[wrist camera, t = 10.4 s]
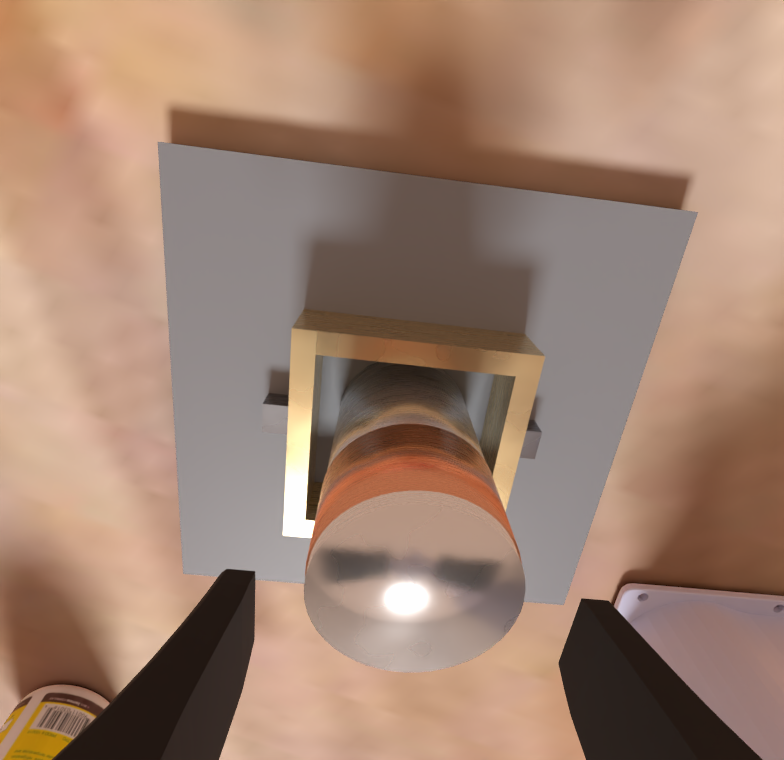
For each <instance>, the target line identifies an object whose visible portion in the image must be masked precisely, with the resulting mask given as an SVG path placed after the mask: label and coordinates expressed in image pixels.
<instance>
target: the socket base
mask: <svg viewBox="0 0 784 760" xmlns="http://www.w3.org/2000/svg"><path fill="white" fill-rule="evenodd" d="M158 154H159V171H160V188H161V205H162V222H163V239H164V256H165V273H166V290H167V307H168V324H169V341H170V358H171V375H172V392H173V409H174V425H175V442H176V459H177V476H178V493H179V510H180V527H181V544H182V561H183V574H192V575H204V576H216V577H219V575H220V574H221V572H223V571H224V570H226V569H236V570H248V571H255V580H265V581H277V582H289V583H301V584H304V583H305V568H306V560H307V556H308V551H309V546H310V541H311V538H308V537H297V536H285V535H283V523H284V499H285V475H286V451H287V435H285V434H275V433H265V432H262V411H263V402H264V400H265V399H266V397H267V395H268V393H275V394H285V395H289V379H290V355H291V331H292V327H293V325H294V324H295V322H296V321H297V319H298V318H299V316H300V314H301V313H302V311H303V310H304V309H311V310H319V311H328V312H337V313H346V314H355V315H363V316H372V317H381V318H390V319H399V320H408V321H416V322H425V323H434V324H443V325H452V326H460V327H469V328H478V329H487V330H496V331H504V332H513V333H522V334H525V335H526V336H527V337H528V338H529V339H530V340H531V341H532V342H533V343H534V344H535V346H536V347H537V348H538V349H539V350H540V351H541V352H542V353H543V354H544V356H545V359H544V363H543V367H542V371H541V375H540V379H539V383H538V387H537V391H536V395H535V399H534V403H533V407H532V410H531V414H530V418H529V420H535V422H536V423H537V425H538V427H539V428H540V430H541V431H542V434H541V438H540V442H539V446H538V449H537V453H536V457H535V459H527V458H519V461H518V465H517V469H516V473H515V477H514V481H513V485H512V489H511V493H510V497H509V501H508V504H507V508H506V515H507V518H508V521H509V524H510V526H511V529H512V532H513V535H514V538H515V540H516V543H517V546H518V549H519V551H520V556H521V561H522V567H523V570H524V575H525V588H526V591H525V597H524V602H533V603H545V604H557V605H564V603H565V600H566V597H567V594H568V591H569V588H570V585H571V582H572V579H573V576H574V574H575V571H576V568H577V565H578V562H579V559H580V556H581V553H582V550H583V547H584V544H585V541H586V538H587V535H588V533H589V530H590V527H591V524H592V521H593V518H594V515H595V512H596V509H597V506H598V503H599V500H600V497H601V495H602V492H603V489H604V486H605V483H606V480H607V477H608V474H609V471H610V468H611V465H612V462H613V459H614V456H615V454H616V451H617V448H618V445H619V442H620V439H621V436H622V433H623V430H624V427H625V424H626V421H627V418H628V416H629V413H630V410H631V407H632V404H633V401H634V398H635V395H636V392H637V389H638V386H639V383H640V380H641V377H642V375H643V372H644V369H645V366H646V363H647V360H648V357H649V354H650V351H651V348H652V345H653V342H654V339H655V337H656V334H657V331H658V328H659V325H660V322H661V319H662V316H663V313H664V310H665V307H666V304H667V301H668V298H669V296H670V293H671V290H672V287H673V284H674V281H675V278H676V275H677V272H678V269H679V266H680V263H681V260H682V258H683V255H684V252H685V249H686V246H687V243H688V240H689V237H690V234H691V231H692V228H693V225H694V222H695V219H696V217H697V214H698V212H693V211H685V210H677V209H670V208H662V207H654V206H647V205H639V204H631V203H624V202H616V201H608V200H601V199H593V198H585V197H578V196H570V195H562V194H555V193H547V192H539V191H532V190H524V189H516V188H509V187H501V186H493V185H486V184H478V183H470V182H463V181H455V180H447V179H440V178H432V177H424V176H417V175H409V174H401V173H394V172H386V171H378V170H371V169H363V168H355V167H348V166H340V165H332V164H325V163H317V162H309V161H302V160H294V159H286V158H279V157H271V156H263V155H256V154H248V153H240V152H233V151H225V150H217V149H210V148H202V147H194V146H187V145H179V144H171V143H164V142H158ZM377 362H378V361H368V360H359V359H350V358H341V357H332V356H323V364H322V379H321V393H320V408H319V422H318V437H317V451H316V466H315V480H314V482H323V481H324V477H325V475H326V473H327V468H328V464H329V459H330V454H331V449H332V444H333V439H334V434H335V429H336V424H337V419H338V415H339V410H340V405H341V401H342V397H343V395H344V393H345V390H346V389H347V387H348V385H349V384H350V382H351V381H352V380H353V379H354V378H355V377H356V376H357V375H358V374H359V373H360V372H361V371H363V370H364V369H365V368H367V367H368V366H370V365H372V364H374V363H377ZM441 369H442V368H441ZM442 370H444V371H445V372H446V373H447V374H448V375H449V376H450V377H451V378H452V379H453V380H454V382H455V383H456V384H457V386H458V388H459V389H460V391H461V394H462V397H463V399H464V402H465V405H466V408H467V411H468V413H469V416H470V419H471V422H472V425H473V428H474V430H475V433H476V436H477V439H478V442H479V444H480V439H481V435H482V430H483V425H484V421H485V416H486V412H487V407H488V402H489V398H490V393H491V388H492V384H493V379H494V375H495V374H488V373H479V372H470V371H461V370H451V369H442Z"/></svg>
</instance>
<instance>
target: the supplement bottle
mask: <svg viewBox="0 0 784 760" xmlns="http://www.w3.org/2000/svg"><path fill="white" fill-rule="evenodd" d="M109 704H110V703H109V702H108V701H107V700H106V699H105V698H103V697H102V696H100V695H99V694H97V693H95V692H93V691H91V690H88V689H86V688H82V687H78V686H73V685H50V686H46V687H42V688H39V689H37V690H35V691H33V692H31V693H30V694H28V695H27V696H25V697H24V698H23V699H22V700H21V701H20V702H19V704H18V705H17V706H16V708H15V709H14V711H13V712H12V713H11V715H10V716H9V718H8V719H7V720H6V722H5V723H4V725H3V726H2V728H1V729H0V760H52V759H53V758H54V757H55V756H56V755H57V754H58V753H59V752H60V751H61V750H62V749H63V748H64V747H66V746H67V745H68V744H69V743H70V742H71V741H72V740H73V739H74V738H75V737H76V736H77V735H78V734H79V733H80V732H81V731H82V730H83V729H85V728H86V727H87V726H88V725H89V724H90V723H91V722H92V721H93V720H94V719H95V718H96V717H97V716H98V715H99V714H100V713H101V712H102V711H103V710H104V709H105V708H106V707H107V706H108V705H109Z"/></svg>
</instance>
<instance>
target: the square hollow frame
mask: <svg viewBox="0 0 784 760" xmlns="http://www.w3.org/2000/svg"><path fill="white" fill-rule="evenodd" d="M323 356H332V357H341V358H350V359H359V360H368V361H378V362H387V363H396V364H405V365H415V366H424V367H433V368H442V369H451V370H461V371H470V372H479V373H488V374H495V375H494V379H493V384H492V388H491V393H490V398H489V402H488V407H487V412H486V416H485V421H484V425H483V430H482V435H481V439H480V444H479V445H480V448H481V450H482V453H483V456H484V459H485V461H486V463H487V465H488V467H489V469H490V471H491V474H492V476H493V479H494V482H495V485H496V487H497V490H498V493H499V496H500V499H501V501H502V504H503V507H504V510H505V512H506V508H507V504H508V501H509V497H510V493H511V489H512V485H513V481H514V477H515V473H516V469H517V465H518V461H519V458H527V459H535V457H536V453H537V449H538V446H539V442H540V438H541V434H542V431H541V430H540V428H539V427H538V425H537V423H536V422H535V420H529V418H530V414H531V410H532V407H533V403H534V399H535V395H536V391H537V387H538V383H539V379H540V375H541V371H542V367H543V363H544V359H545V356H544V354H543V353H542V352H541V351H540V350H539V349H538V348H537V347H536V346H535V344H534V343H533V342H532V341H531V340H530V339H529V338H528V337H527V336H526V335H525V334H522V333H513V332H504V331H496V330H487V329H478V328H469V327H460V326H452V325H443V324H434V323H425V322H416V321H408V320H399V319H390V318H381V317H372V316H363V315H355V314H346V313H337V312H328V311H319V310H311V309H304V310H303V311H302V313H301V314H300V316H299V318H298V319H297V321H296V322H295V324H294V325H293V327H292V331H291V355H290V379H289V395H285V394H275V393H268V395H267V397H266V399H265V400H264V402H263V411H262V432H265V433H275V434H285V435H287V451H286V475H285V499H284V523H283V535H285V536H297V537H308V538H311V537H312V532H313V527H314V522H315V518H316V513H317V508H318V503H319V499H320V494H321V489H322V485H323V482H314V480H315V466H316V451H317V437H318V422H319V408H320V393H321V379H322V364H323Z"/></svg>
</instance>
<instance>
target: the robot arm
mask: <svg viewBox="0 0 784 760" xmlns="http://www.w3.org/2000/svg"><path fill="white" fill-rule="evenodd" d="M642 593H643V594H642ZM640 594H641V595H640ZM254 626H255V571H248V570H236V569H226V570H224V571H223V572H221V574H220V575H219V577H218V578H217V579H216V581H215V582H214V584H213V585H212V586H211V588H210V589H209V590H208V592H207V593H206V594H205V595H204V597H203V598H202V599H201V601H200V602H199V603H198V604H197V606H196V607H195V608H194V609H193V611H192V612H191V613H190V614H189V616H188V617H187V618H186V619H185V621H184V622H183V623H182V624H181V625H180V627H179V628H178V629H177V630H176V631H175V632H174V634H173V635H172V636H171V637H170V638H169V639H168V641H167V642H166V643H165V644H164V645H163V646H162V647H161V649H160V650H159V651H158V652H157V653H156V654H155V656H154V657H153V658H152V659H151V660H150V661H149V662H148V663H147V665H146V666H145V667H144V668H143V669H142V670H141V671H140V672H139V673H138V674H137V675H136V676H135V677H134V678H133V679H132V680H131V682H130V683H129V684H128V685H127V686H126V687H125V688H124V689H123V690H122V691H121V692H120V693H119V694H118V695H117V696H116V697H115V699H114V700H113V701H112V702H111V703H110V704H109V705H108V706H107V707H106V708H105V709H104V710H103V711H102V712H101V713H100V714H99V715H98V716H97V717H96V718H95V719H94V720H93V721H92V722H91V723H90V724H89V725H88V726H87V727H86V728H85V729H83V730H82V731H81V732H80V733H79V734H78V735H77V736H76V737H75V738H74V739H73V740H72V741H71V742H70V743H69V744H68V745H67V746H66V747H64V748H63V749H62V750H61V751H60V752H59V753H58V754H57V755H56V756H55V757H54V758H53V759H52V760H219V757H220V755H221V752H222V749H223V746H224V743H225V740H226V737H227V734H228V731H229V728H230V725H231V722H232V719H233V716H234V714H235V711H236V708H237V705H238V702H239V699H240V696H241V693H242V689H243V685H244V681H245V677H246V673H247V669H248V664H249V660H250V656H251V652H252V647H253V643H254ZM559 667H560V672H561V676H562V681H563V685H564V690H565V694H566V698H567V702H568V706H569V710H570V714H571V717H572V720H573V723H574V726H575V729H576V732H577V735H578V738H579V740H580V743H581V746H582V749H583V752H584V755H585V758H586V760H784V596H777V595H765V594H753V593H742V592H730V591H718V590H706V589H695V588H683V587H671V586H660V585H648V584H636V583H629V584H626V585H624V586H623V587H622V588H621V590H620V592H619V594H618V597H617V599H616V602H615V604H614V606H613V605H612V604H611V603H610V602H609V601H605V600H593V599H581V602H580V604H579V607H578V610H577V613H576V616H575V618H574V621H573V624H572V627H571V629H570V632H569V635H568V638H567V641H566V643H565V646H564V649H563V652H562V655H561V657H560V660H559Z"/></svg>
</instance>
